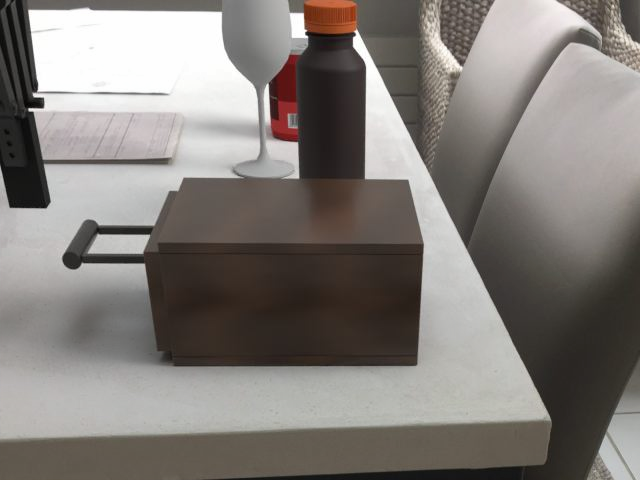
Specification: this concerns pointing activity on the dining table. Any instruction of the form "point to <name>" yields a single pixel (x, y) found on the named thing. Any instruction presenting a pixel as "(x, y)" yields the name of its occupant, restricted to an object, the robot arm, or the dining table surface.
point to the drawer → (129, 261)
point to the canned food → (286, 95)
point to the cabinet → (292, 272)
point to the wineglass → (258, 63)
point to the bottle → (331, 94)
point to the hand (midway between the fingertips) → (30, 204)
